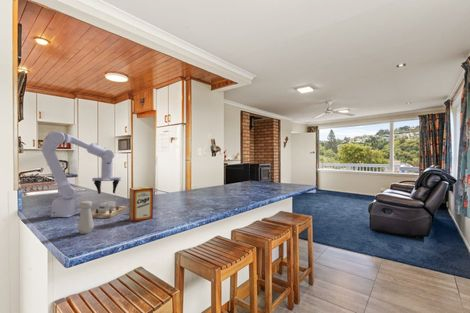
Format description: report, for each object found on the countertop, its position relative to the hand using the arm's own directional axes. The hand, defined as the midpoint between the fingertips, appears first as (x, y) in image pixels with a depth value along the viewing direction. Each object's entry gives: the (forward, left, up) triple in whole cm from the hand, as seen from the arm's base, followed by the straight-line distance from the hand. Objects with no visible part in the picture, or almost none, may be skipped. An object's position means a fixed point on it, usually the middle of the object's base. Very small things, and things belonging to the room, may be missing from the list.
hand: (106, 193), depth 131 cm
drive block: (+6, -10, -8) cm, 14 cm away
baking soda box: (+28, -17, -10) cm, 34 cm away
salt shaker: (+14, -38, -10) cm, 41 cm away
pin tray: (+6, -9, -9) cm, 14 cm away
